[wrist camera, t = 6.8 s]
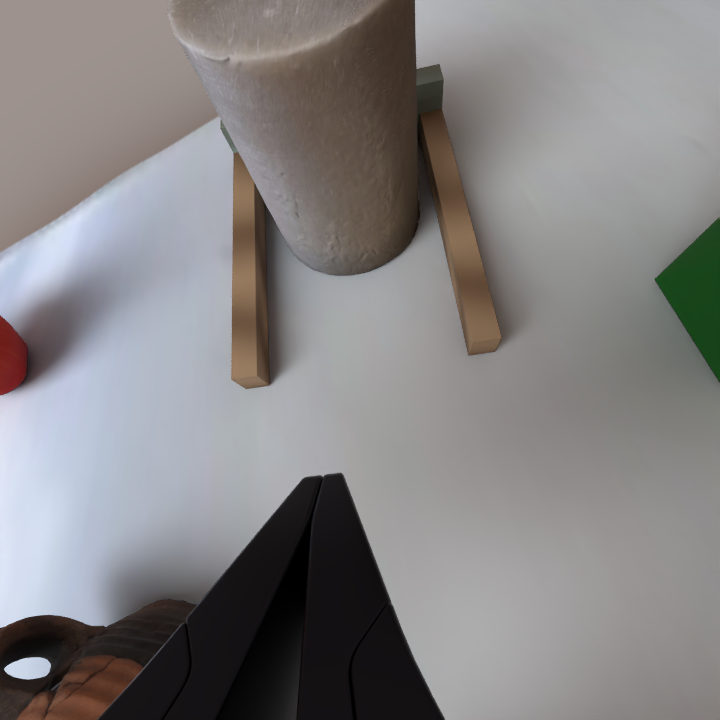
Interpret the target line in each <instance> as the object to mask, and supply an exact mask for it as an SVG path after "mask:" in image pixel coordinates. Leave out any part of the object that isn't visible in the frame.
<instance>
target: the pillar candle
mask: <svg viewBox="0 0 720 720" xmlns="http://www.w3.org/2000/svg"><path fill="white" fill-rule="evenodd" d="M168 1H169V2H170V5H169V8H168V10H167V15H168V17H169V19H170V23H171V26H172V28H173V34H174V35H175V37H176V38H177V39H178V41H179V43H180V45H181V46H182V48H183V50H184V52H185V54H186V55H187V57H188V59H189V61H190V62H191V64H192V66H193V68H194V70H195V72H196V73H197V75H198V77H199V78H200V80H201V82H202V84H203V86H204V88H205V90H206V92H207V93H208V95H209V97H210V99H211V101H212V103H213V105H214V107H215V109H216V110H217V112H218V114H219V116H220V118H221V120H222V122H223V124H224V126H225V128H226V130H227V131H228V133H229V135H230V137H231V139H232V141H233V143H234V145H235V147H236V148H237V150H238V152H239V154H240V156H241V158H242V159H243V161H244V163H245V165H246V167H247V169H248V171H249V173H250V175H251V177H252V179H253V181H254V183H255V184H256V186H257V188H258V190H259V192H260V194H261V196H262V198H263V200H264V202H265V204H266V206H267V208H268V209H269V211H270V213H271V215H272V216H273V218H274V220H275V222H276V224H277V226H278V228H279V230H280V232H281V233H282V235H283V237H284V239H285V241H286V243H287V244H288V246H289V248H290V249H291V251H292V252H293V253H294V255H295V256H296V257H297V258H298V259H299V260H300V261H301V262H302V263H304V264H305V265H306V266H308V267H310V268H311V269H313V270H315V271H319V272H323V273H325V274H329V275H336V276H339V275H354V274H359V273H365V272H368V271H371V270H373V269H375V268H377V267H380V266H382V265H383V264H385V263H386V262H388V261H389V260H391V259H393V258H394V257H396V256H397V255H398V254H399V253H400V252H402V251H403V250H404V249H405V248H406V247H407V245H408V244H409V243H410V241H411V239H412V237H413V236H414V234H415V232H416V229H417V226H418V221H419V217H420V208H419V200H418V185H419V174H418V147H417V142H418V141H417V92H416V81H417V70H416V41H415V0H168Z"/></svg>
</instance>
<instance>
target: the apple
mask: <svg viewBox="0 0 720 720" xmlns="http://www.w3.org/2000/svg"><path fill="white" fill-rule="evenodd" d="M27 356H28V348H27V345H26V343H25V342H24V340H23V339H22V338H21V337H20V336H19V335H18V333H17V332H16V331H15V330H14V329H13V327H12V326H11V325H10V324H9V323H8V322H7V321H6V320H5V319H4V318H3V317H2V316H0V395H3V394H6V393H8V392H10V391H12V390H14V389H15V388H16V387H18V386H19V385H20V384H21V383H22V382H23V380H24V379H25V376H26V373H27Z"/></svg>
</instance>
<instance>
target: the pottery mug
mask: <svg viewBox="0 0 720 720" xmlns="http://www.w3.org/2000/svg"><path fill="white" fill-rule="evenodd" d="M195 607H196V605H193V604H190V603H187V602H186V601H177V600H161V601H157V602H155V603H153V604H150V605H148V606H146V607H144V608H142V609H141V610H139V611H138V612H136V613H134V614H132V615H130V616H127V617H125V618H124V619H122V620H120V621H118V622H116V623H114V624H112V625H109V626H107V627H104V626H90V625H87V624H84V623H82V622H79V621H77V620H74V619H71V618H67V617H62V616H54V615H42V616H33V617H28V618H25V619H22V620H19V621H16V622H14V623H12V624H9V625H7V626H6V627H2V628H0V720H97V719H98V718H99V717H100V716H101V714H102V713H103V712H104V711H105V710H106V709H107V708H108V707H109V706H110V705H111V704H112V703H113V701H114V700H115V699H116V698H117V697H118V696H119V695H120V694H121V693H122V692H123V691H124V690H125V688H126V687H127V686H128V685H129V684H130V683H131V682H132V681H133V680H134V679H135V678H136V677H137V675H138V674H139V673H140V672H141V671H142V670H143V668H144V667H145V666H146V665H147V664H148V663H149V662H150V660H151V659H152V658H153V657H154V656H155V655H156V653H157V652H158V651H159V650H160V649H161V648H162V647H163V645H164V644H165V643H166V642H167V641H168V639H169V638H170V637H171V636H172V635H173V633H174V632H175V631H176V630H177V629H178V627H179V626H180V625H181V624H182V623H186V618H187V617H188V616H189V614H190V613H191V612H192V611H193V610H194V608H195ZM30 657H42V658H45V659H47V660H48V661H49V662H50V663H51V668H50V672H49V673H48V675H47V676H45V677H42V678H37V679H30V680H26V679H19V678H15V677H12V676H10V675H8V674H7V673H6V672H5V671H4V668H5V667H6V666H7V665H9V664H10V663H12V662H15V661H18V660H20V659H23V658H30Z"/></svg>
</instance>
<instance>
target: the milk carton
mask: <svg viewBox="0 0 720 720" xmlns="http://www.w3.org/2000/svg"><path fill="white" fill-rule="evenodd" d="M655 281H656V282H657V284H658V285H659V287H660V289H661V290H662V292H663V293H664V295H665V296H666V298H667V300H668V301H669V303H670V304H671V306H672V307H673V309H674V311H675V312H676V314H677V315H678V317H679V319H680V320H681V322H682V323H683V325H684V326H685V328H686V330H687V331H688V333H689V334H690V336H691V337H692V339H693V341H694V342H695V344H696V345H697V347H698V349H699V350H700V352H701V353H702V355H703V356H704V358H705V360H706V361H707V363H708V364H709V366H710V367H711V369H712V371H713V372H714V374H715V375H716V377H717V379H718V380H719V382H720V217H719V218H718V219H717V220H716V221H715V222H714V223H713V224H712V225H711V226H710V227H709V228H708V229H707V230H706V231H705V232H704V233H703V234H702V235H700V236H699V237H698V238H697V239H696V240H695V241H694V242H693V243H692V244H691V245H690V246H689V247H688V248H687V249H686V250H685V251H684V252H683V253H682V254H681V255H680V256H679V257H678V258H677V259H675V260H674V261H673V262H672V263H671V264H670V265H669V266H668V267H667V268H666V269H665V270H664V271H663V272H662V273H661V274H660V275H659V276H658V277H657V278H655Z"/></svg>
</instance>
